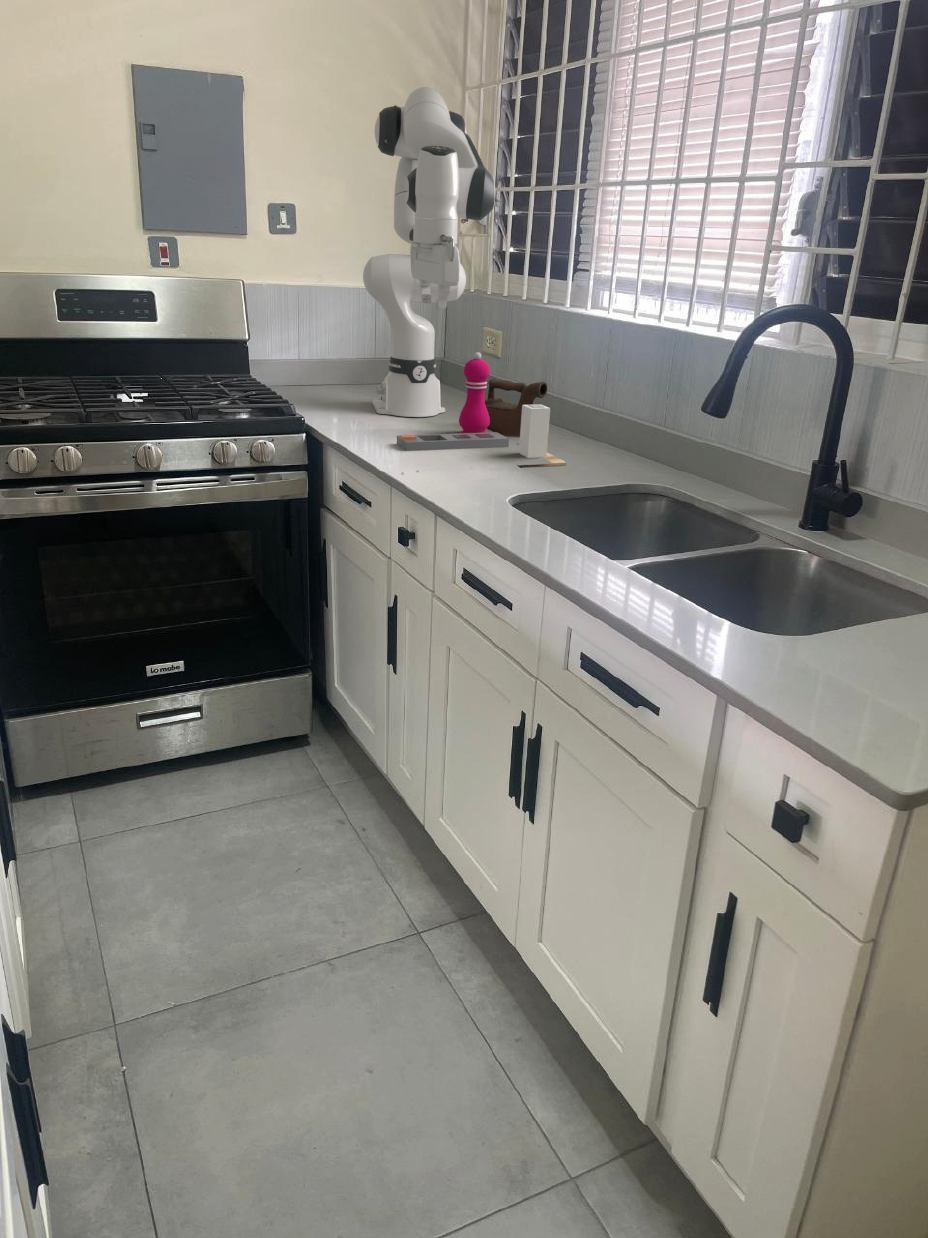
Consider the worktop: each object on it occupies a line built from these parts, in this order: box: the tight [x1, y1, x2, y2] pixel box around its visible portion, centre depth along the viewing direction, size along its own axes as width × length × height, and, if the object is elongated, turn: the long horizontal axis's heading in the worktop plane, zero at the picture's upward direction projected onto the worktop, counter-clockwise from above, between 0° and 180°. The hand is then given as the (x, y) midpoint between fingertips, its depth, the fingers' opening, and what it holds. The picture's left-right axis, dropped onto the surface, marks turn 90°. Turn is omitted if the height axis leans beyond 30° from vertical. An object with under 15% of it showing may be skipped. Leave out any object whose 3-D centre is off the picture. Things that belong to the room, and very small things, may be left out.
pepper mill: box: [458, 351, 491, 434], centre depth 216 cm, size 7×7×20 cm
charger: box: [518, 403, 551, 460], centre depth 201 cm, size 4×4×11 cm
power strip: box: [396, 431, 520, 452], centre depth 209 cm, size 7×32×4 cm, turn 111°
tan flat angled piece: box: [516, 452, 568, 468], centre depth 203 cm, size 11×11×1 cm
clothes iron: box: [484, 378, 548, 437], centre depth 226 cm, size 8×16×13 cm, turn 51°
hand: (433, 305), depth 196 cm, fingers open, 8 cm apart
